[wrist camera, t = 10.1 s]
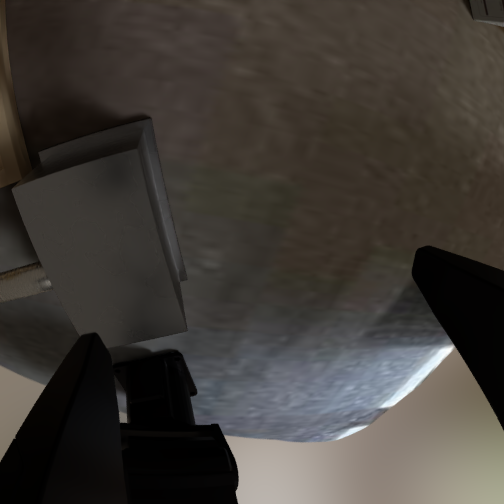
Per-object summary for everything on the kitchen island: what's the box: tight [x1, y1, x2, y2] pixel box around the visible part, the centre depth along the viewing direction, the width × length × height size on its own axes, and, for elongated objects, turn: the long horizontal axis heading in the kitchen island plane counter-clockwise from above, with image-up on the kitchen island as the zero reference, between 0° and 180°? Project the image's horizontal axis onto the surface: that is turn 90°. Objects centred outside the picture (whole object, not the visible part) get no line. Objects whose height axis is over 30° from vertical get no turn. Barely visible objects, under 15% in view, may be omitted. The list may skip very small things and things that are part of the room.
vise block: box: [0, 118, 188, 348], centre depth 16 cm, size 11×14×6 cm
